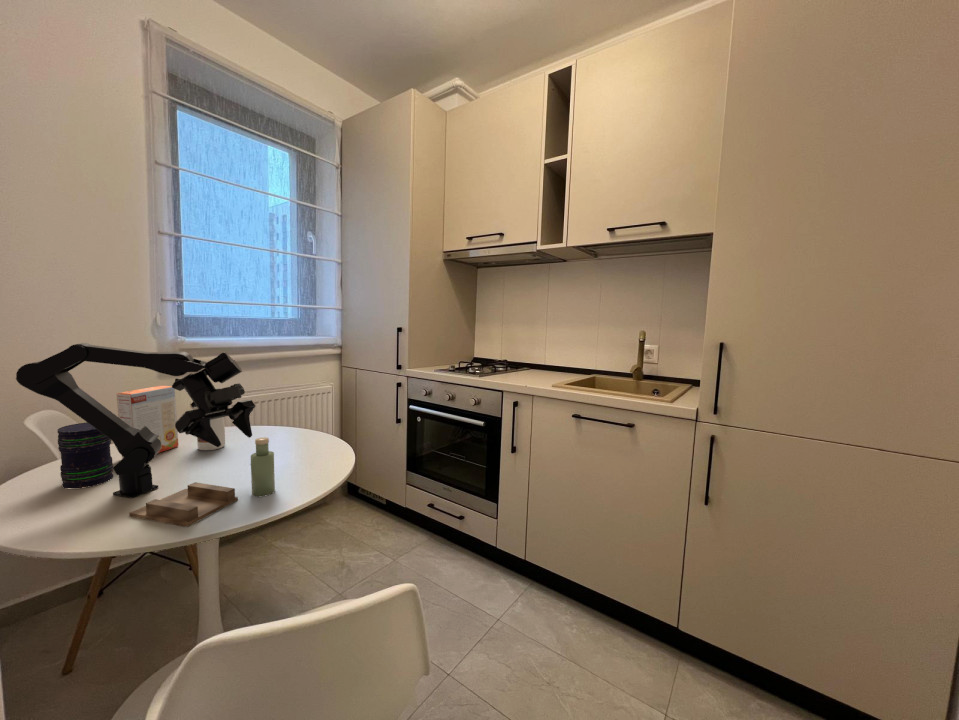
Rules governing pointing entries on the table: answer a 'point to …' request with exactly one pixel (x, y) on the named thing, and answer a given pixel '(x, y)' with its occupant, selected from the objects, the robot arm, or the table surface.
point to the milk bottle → (219, 431)
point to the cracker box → (151, 412)
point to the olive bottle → (262, 469)
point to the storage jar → (84, 456)
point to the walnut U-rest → (187, 504)
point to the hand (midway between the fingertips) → (235, 441)
